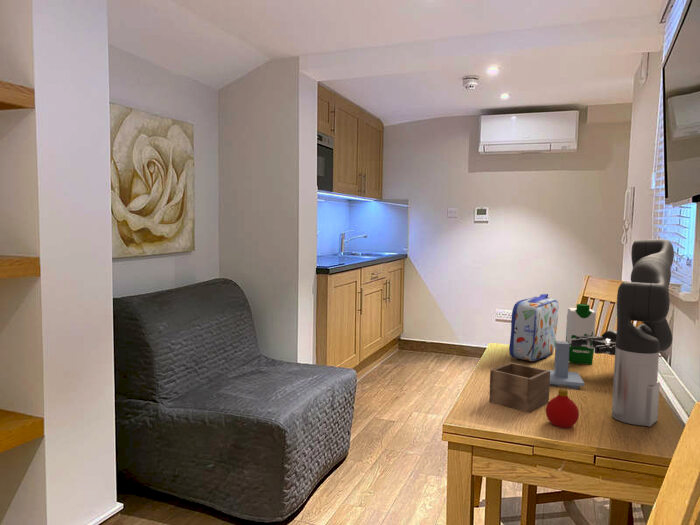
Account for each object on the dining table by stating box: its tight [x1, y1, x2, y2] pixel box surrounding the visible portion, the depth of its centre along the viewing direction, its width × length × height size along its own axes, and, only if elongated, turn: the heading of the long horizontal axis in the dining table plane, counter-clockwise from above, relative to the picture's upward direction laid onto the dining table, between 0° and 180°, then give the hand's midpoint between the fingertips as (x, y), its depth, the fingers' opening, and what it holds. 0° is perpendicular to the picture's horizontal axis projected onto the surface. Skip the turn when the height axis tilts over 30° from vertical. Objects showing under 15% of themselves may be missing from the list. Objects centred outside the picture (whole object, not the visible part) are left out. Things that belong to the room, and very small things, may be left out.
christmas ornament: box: [545, 385, 580, 429], centre depth 121 cm, size 7×7×10 cm
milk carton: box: [565, 303, 597, 365], centre depth 179 cm, size 9×9×20 cm
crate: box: [488, 362, 551, 414], centre depth 135 cm, size 11×11×9 cm
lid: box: [548, 340, 585, 390], centre depth 154 cm, size 11×11×12 cm
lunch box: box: [508, 293, 559, 362], centre depth 185 cm, size 28×10×22 cm, turn 143°
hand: (583, 346), depth 158 cm, fingers open, 8 cm apart
